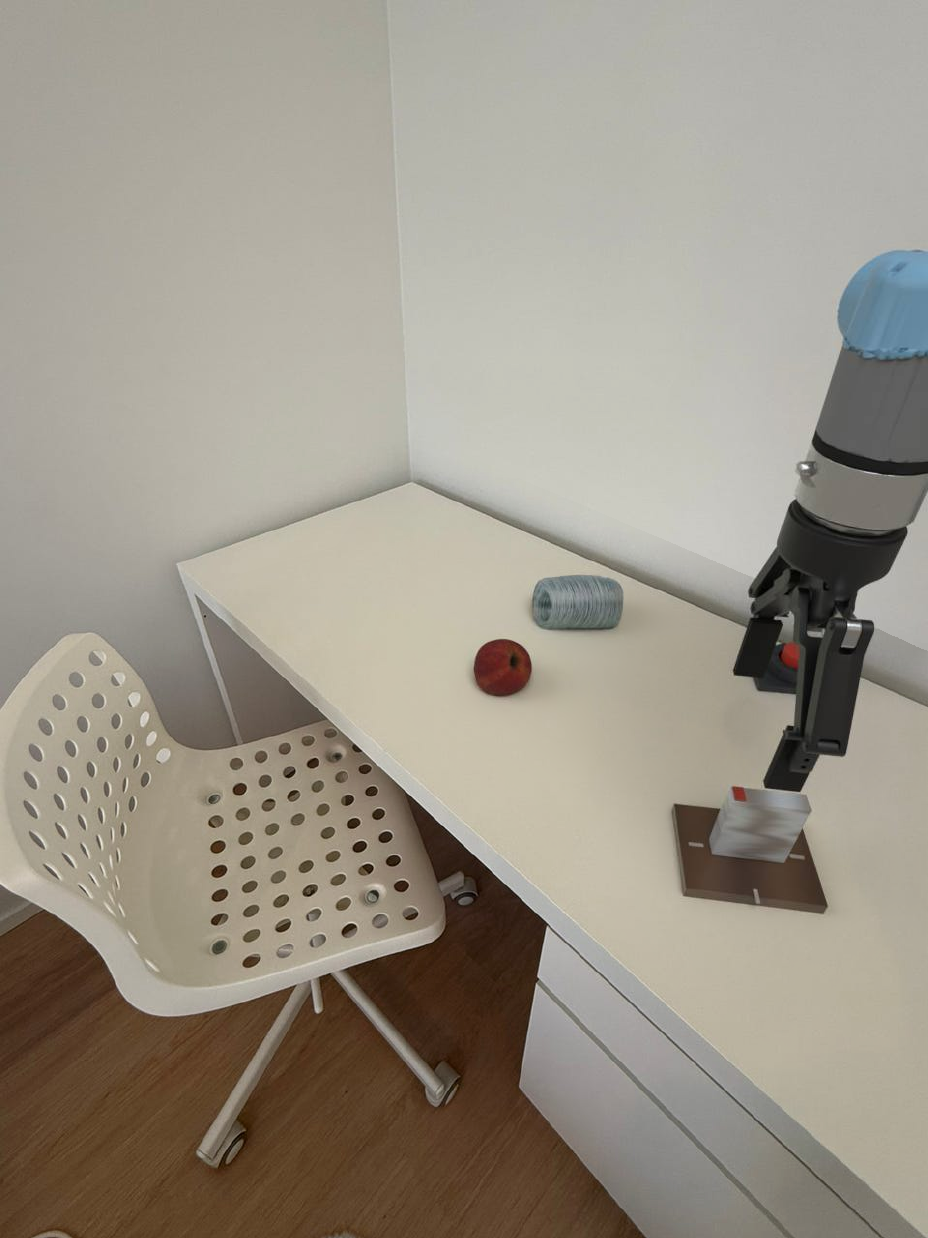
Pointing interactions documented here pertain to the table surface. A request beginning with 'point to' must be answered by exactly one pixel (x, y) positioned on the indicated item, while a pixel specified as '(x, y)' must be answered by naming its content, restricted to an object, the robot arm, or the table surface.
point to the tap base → (743, 869)
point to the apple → (502, 667)
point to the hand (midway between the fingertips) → (762, 725)
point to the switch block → (778, 675)
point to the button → (790, 655)
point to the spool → (577, 602)
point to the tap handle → (759, 824)
